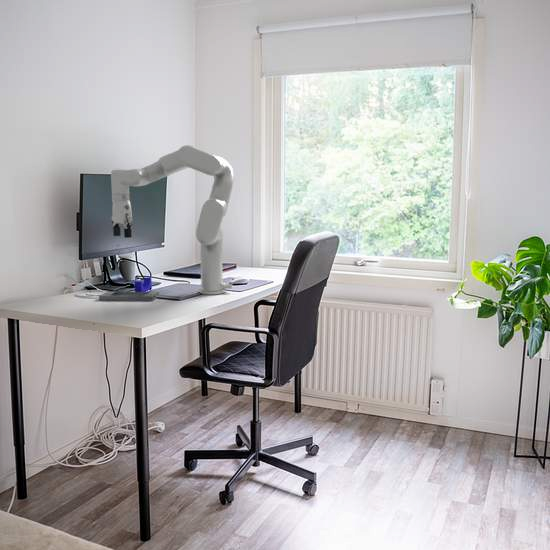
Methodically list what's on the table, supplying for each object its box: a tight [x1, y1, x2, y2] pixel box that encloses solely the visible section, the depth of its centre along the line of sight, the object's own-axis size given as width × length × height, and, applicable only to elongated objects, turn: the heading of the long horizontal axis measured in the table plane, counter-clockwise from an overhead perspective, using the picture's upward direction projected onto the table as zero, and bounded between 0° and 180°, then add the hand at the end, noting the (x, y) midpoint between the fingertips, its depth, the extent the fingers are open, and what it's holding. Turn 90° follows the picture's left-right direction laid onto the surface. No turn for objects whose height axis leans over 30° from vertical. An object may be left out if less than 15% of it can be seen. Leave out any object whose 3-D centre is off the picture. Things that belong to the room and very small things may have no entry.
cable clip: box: [134, 276, 153, 292], centre depth 288 cm, size 12×4×6 cm, turn 169°
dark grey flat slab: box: [98, 291, 160, 302], centre depth 275 cm, size 23×10×2 cm, turn 85°
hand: (122, 236), depth 286 cm, fingers open, 9 cm apart
